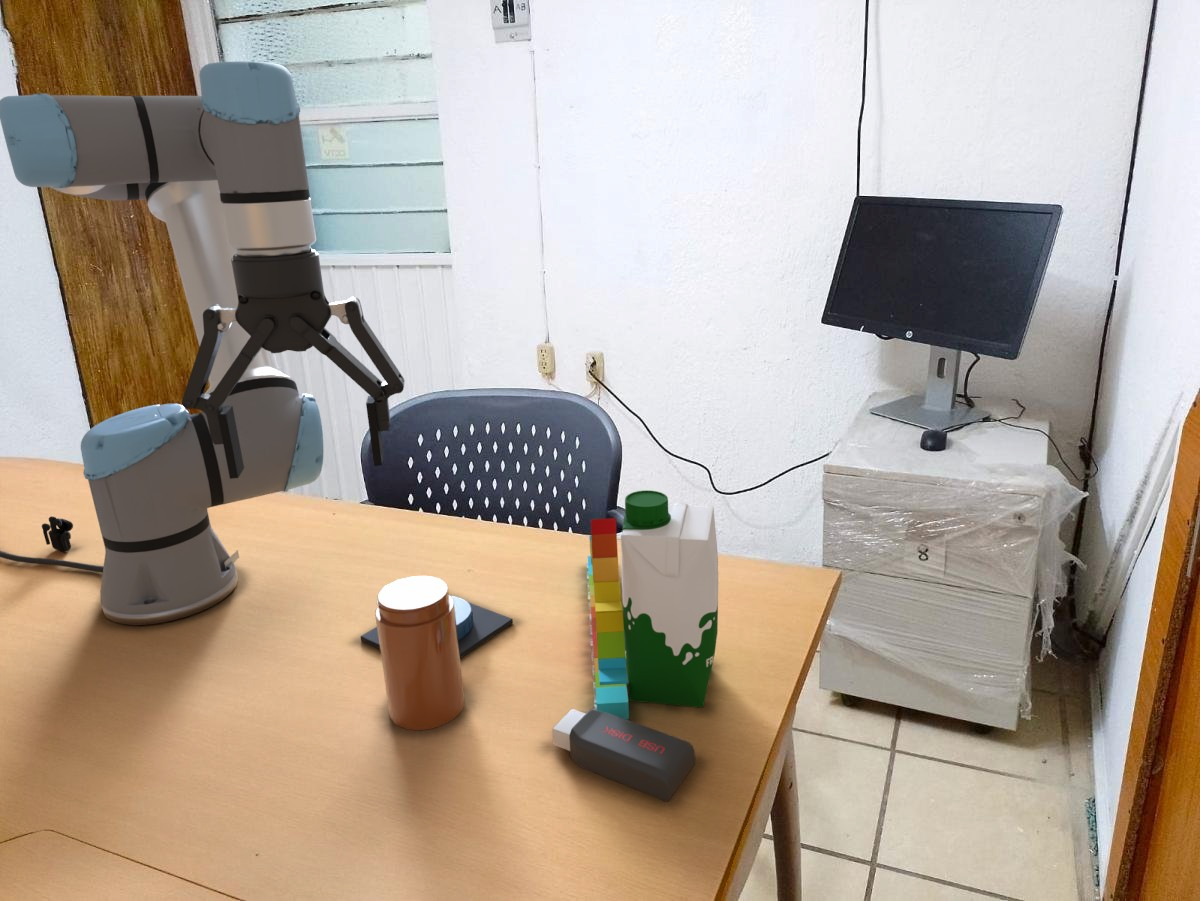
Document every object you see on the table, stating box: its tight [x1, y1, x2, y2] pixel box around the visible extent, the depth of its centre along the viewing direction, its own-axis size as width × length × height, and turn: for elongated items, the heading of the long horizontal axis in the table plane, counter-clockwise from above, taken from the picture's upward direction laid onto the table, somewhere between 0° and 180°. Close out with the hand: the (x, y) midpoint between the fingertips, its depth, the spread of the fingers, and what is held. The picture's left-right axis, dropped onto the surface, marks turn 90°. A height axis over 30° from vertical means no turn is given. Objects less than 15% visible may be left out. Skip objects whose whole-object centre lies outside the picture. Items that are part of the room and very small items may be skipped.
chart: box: [586, 517, 630, 720], centre depth 89 cm, size 30×3×15 cm, turn 2°
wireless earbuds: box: [41, 516, 74, 553], centre depth 117 cm, size 7×2×5 cm, turn 59°
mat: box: [360, 594, 514, 660], centre depth 93 cm, size 12×12×1 cm
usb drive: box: [552, 708, 696, 802], centre depth 72 cm, size 5×12×3 cm, turn 59°
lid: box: [451, 595, 473, 640], centre depth 93 cm, size 8×8×2 cm
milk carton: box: [620, 489, 719, 708], centre depth 79 cm, size 9×9×20 cm
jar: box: [374, 575, 465, 731], centre depth 79 cm, size 7×7×13 cm
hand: (309, 467), depth 83 cm, fingers open, 13 cm apart
